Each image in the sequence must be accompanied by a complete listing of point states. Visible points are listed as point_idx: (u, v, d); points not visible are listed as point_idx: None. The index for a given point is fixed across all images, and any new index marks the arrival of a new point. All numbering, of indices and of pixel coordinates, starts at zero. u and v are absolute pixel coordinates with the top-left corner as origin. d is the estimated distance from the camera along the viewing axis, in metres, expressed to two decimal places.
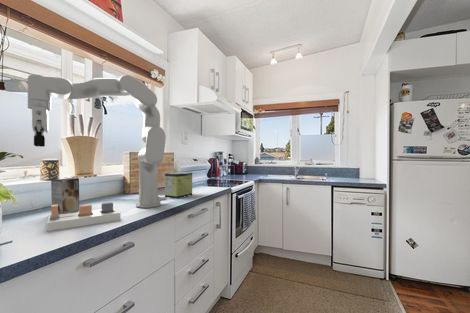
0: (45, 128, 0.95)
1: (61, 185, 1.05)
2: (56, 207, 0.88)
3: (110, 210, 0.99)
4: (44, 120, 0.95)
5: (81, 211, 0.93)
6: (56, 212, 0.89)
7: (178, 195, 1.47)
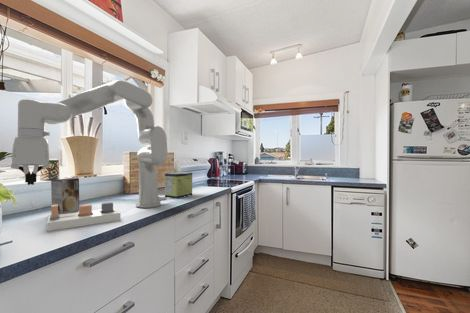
0: None
1: (61, 185, 1.05)
2: (56, 207, 0.88)
3: (110, 210, 0.99)
4: None
5: (81, 211, 0.93)
6: (56, 212, 0.89)
7: (178, 195, 1.47)
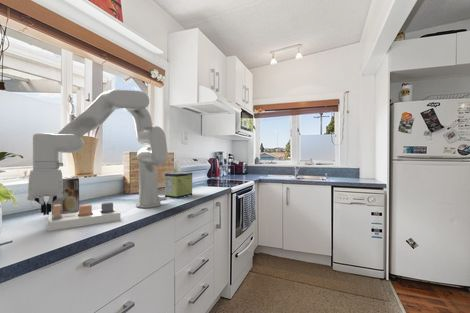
0: None
1: None
2: (58, 206, 0.89)
3: (110, 210, 0.99)
4: None
5: (81, 211, 0.93)
6: (58, 212, 0.89)
7: (178, 195, 1.47)
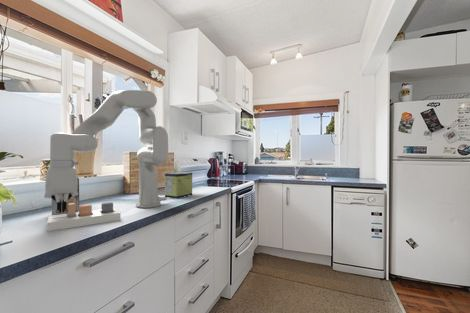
0: None
1: None
2: (73, 205, 0.92)
3: (110, 210, 0.99)
4: None
5: (81, 211, 0.93)
6: (73, 210, 0.92)
7: (178, 195, 1.47)
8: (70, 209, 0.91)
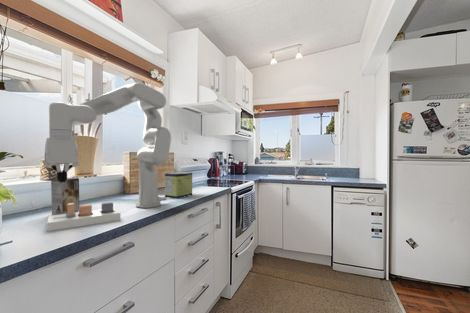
0: None
1: (61, 185, 1.05)
2: (72, 205, 0.92)
3: (110, 210, 0.99)
4: None
5: (81, 211, 0.93)
6: (72, 210, 0.92)
7: (178, 195, 1.47)
8: (69, 209, 0.91)
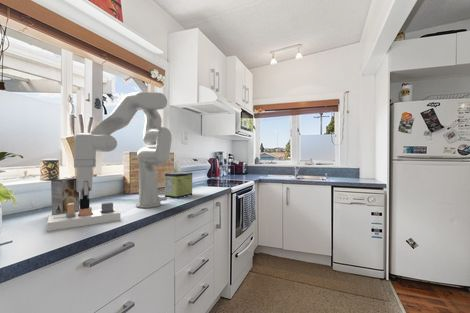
0: None
1: (61, 185, 1.05)
2: (72, 205, 0.92)
3: (110, 210, 0.99)
4: None
5: (81, 213, 0.93)
6: (72, 210, 0.92)
7: (178, 195, 1.47)
8: (69, 209, 0.91)
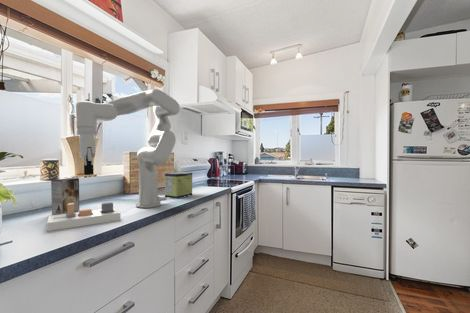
0: None
1: (61, 185, 1.05)
2: (72, 205, 0.92)
3: (110, 210, 0.99)
4: None
5: (81, 215, 0.93)
6: (72, 210, 0.92)
7: (178, 195, 1.47)
8: (69, 209, 0.91)
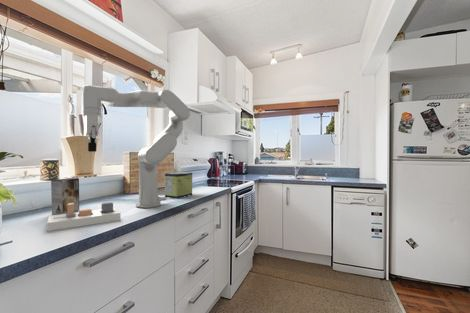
0: None
1: (61, 185, 1.05)
2: (72, 205, 0.92)
3: (110, 210, 0.99)
4: None
5: (81, 215, 0.93)
6: (72, 210, 0.92)
7: (178, 195, 1.47)
8: (69, 209, 0.91)
